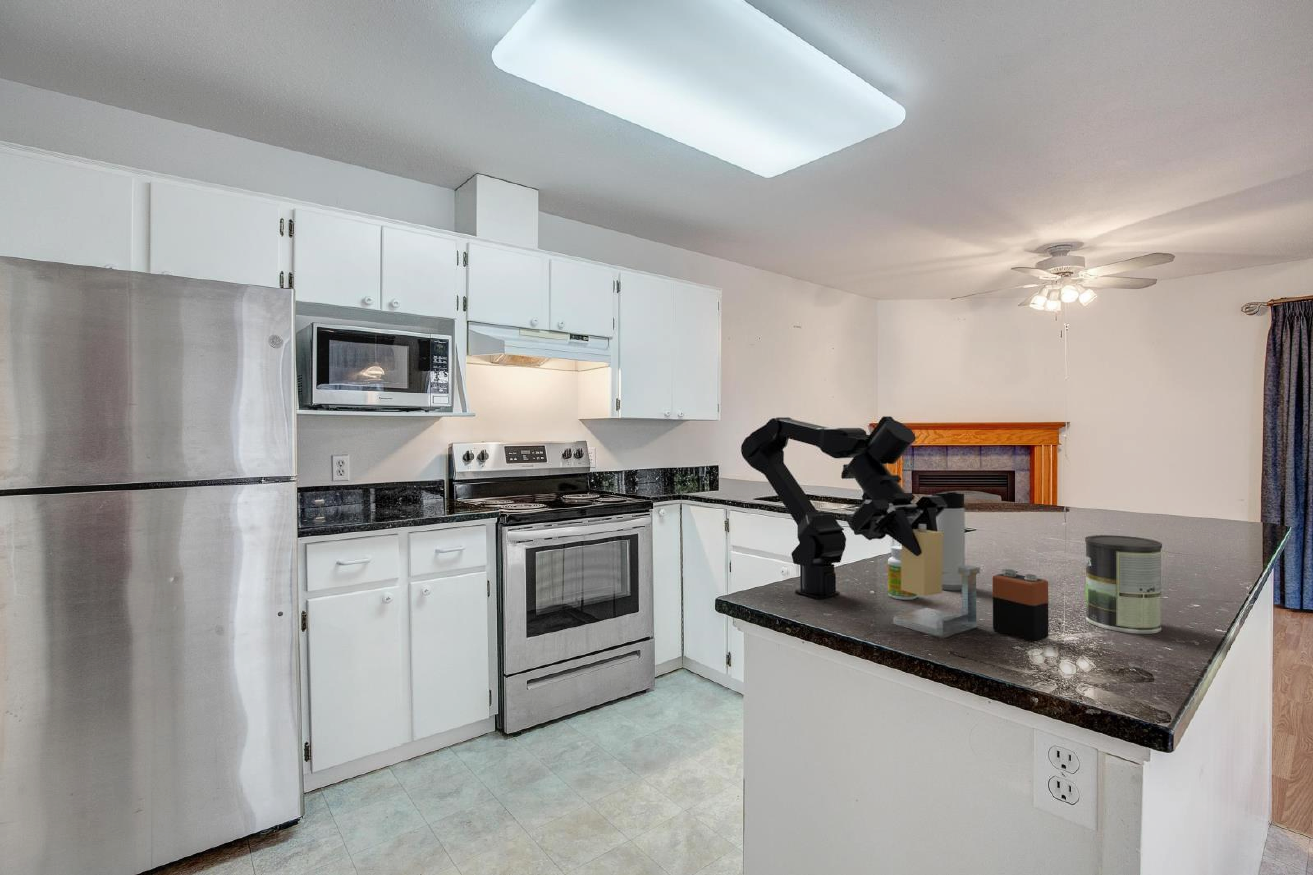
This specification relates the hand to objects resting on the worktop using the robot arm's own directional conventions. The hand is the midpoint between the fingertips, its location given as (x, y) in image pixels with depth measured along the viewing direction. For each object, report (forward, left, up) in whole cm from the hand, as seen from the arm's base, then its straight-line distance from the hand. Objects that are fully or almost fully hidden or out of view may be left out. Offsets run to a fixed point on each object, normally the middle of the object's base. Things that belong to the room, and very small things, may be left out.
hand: (929, 553), depth 104 cm
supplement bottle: (-15, +14, -13) cm, 24 cm away
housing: (-1, 0, -7) cm, 7 cm away
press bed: (0, +2, -12) cm, 13 cm away
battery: (+10, +9, -13) cm, 18 cm away
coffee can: (+17, +28, -13) cm, 35 cm away
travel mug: (-14, +28, -13) cm, 33 cm away
